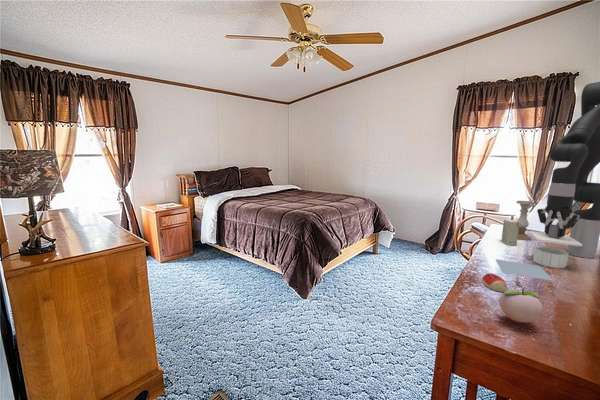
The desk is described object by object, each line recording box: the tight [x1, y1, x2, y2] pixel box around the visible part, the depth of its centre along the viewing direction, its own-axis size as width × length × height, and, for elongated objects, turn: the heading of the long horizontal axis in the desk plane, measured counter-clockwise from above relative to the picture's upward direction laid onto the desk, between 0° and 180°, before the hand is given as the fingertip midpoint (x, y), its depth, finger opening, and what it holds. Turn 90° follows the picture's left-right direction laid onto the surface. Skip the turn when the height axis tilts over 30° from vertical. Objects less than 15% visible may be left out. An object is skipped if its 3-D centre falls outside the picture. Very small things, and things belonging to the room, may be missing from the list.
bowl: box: [532, 246, 570, 269], centre depth 112 cm, size 10×10×6 cm
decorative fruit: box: [498, 287, 544, 323], centre depth 72 cm, size 9×8×10 cm
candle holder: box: [515, 200, 535, 241], centre depth 147 cm, size 9×9×20 cm
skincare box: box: [500, 218, 520, 247], centre depth 138 cm, size 6×4×12 cm
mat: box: [494, 258, 554, 282], centre depth 107 cm, size 15×15×1 cm
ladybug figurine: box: [481, 272, 509, 293], centre depth 94 cm, size 7×10×4 cm
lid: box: [528, 223, 583, 246], centre depth 110 cm, size 13×13×6 cm
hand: (553, 235), depth 111 cm, fingers closed on lid, 3 cm apart
